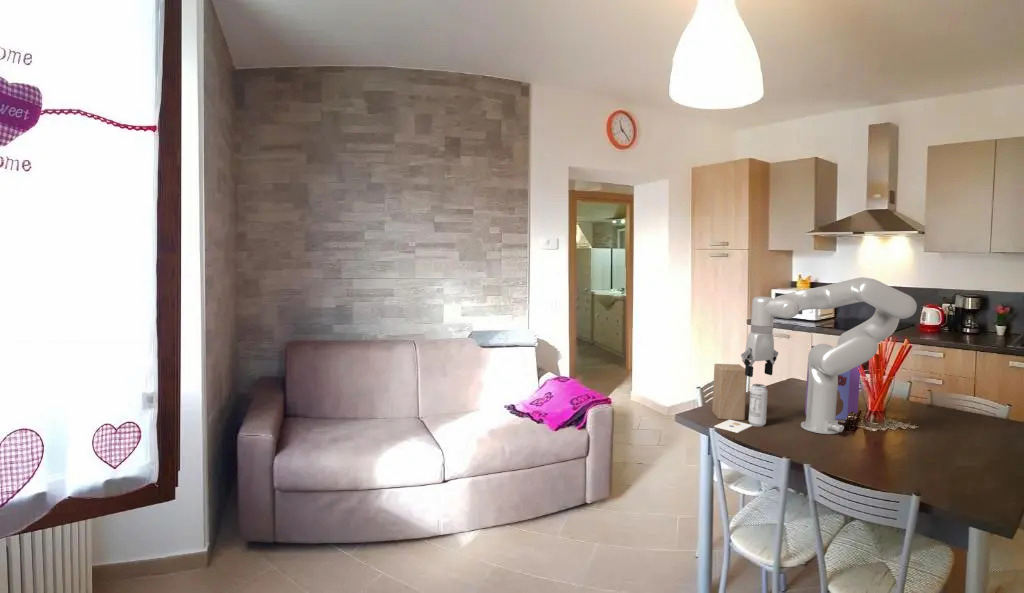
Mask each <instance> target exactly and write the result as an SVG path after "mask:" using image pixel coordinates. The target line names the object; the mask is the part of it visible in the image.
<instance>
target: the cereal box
mask: <svg viewBox="0 0 1024 593" xmlns="http://www.w3.org/2000/svg"><path fill="white" fill-rule="evenodd" d="M857 367H858V368H859V370H860V369H861V368H862V366H861V367H860V365H859V366H857ZM857 367H855V368H853V369H851V370H849V371H847V372H845V373H843V374H840V375H838V390H837V404H836V418H835V419H836V420H838V421H839V420H842V421H847V420H846V418H847V417H848V414H849V413H851V412H854V413H857V414H858V411H859V410H858V409H859V395H860V383H861V382H860V381H861V372H860V373H859V371H858V368H857ZM861 370H862V369H861ZM808 380H809V368H808V367H807V372H806V385H805V387H806V389H805V402H804V403H805V405H804V415H805V416H806V410H807V395H808Z"/></svg>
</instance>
